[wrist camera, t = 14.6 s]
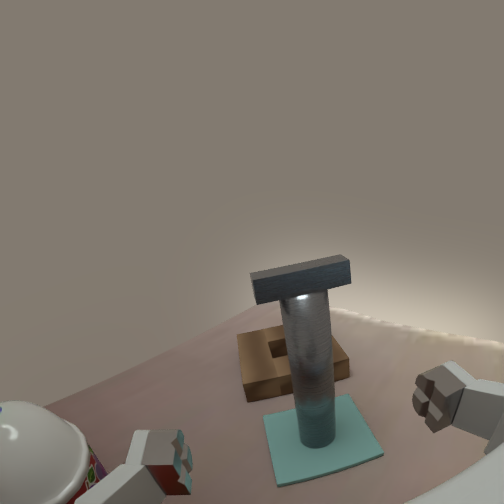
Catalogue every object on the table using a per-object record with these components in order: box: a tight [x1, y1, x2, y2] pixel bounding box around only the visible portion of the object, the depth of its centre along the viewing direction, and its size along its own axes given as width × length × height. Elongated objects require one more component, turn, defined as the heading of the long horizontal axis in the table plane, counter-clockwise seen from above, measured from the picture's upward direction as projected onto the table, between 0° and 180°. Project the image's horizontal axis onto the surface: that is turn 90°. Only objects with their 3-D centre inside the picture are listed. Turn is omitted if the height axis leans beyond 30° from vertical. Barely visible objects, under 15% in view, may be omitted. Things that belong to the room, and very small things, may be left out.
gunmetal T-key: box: [250, 255, 351, 449], centre depth 23 cm, size 7×4×18 cm, turn 96°
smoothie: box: [0, 400, 108, 504], centre depth 10 cm, size 8×8×20 cm
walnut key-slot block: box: [237, 325, 349, 402], centre depth 39 cm, size 13×13×3 cm
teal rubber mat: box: [263, 394, 384, 487], centre depth 25 cm, size 10×10×1 cm
